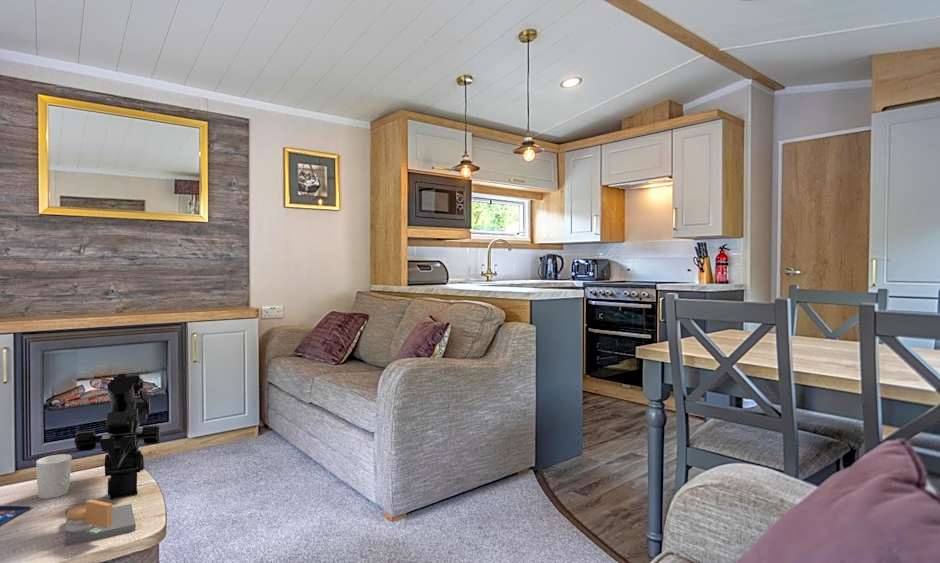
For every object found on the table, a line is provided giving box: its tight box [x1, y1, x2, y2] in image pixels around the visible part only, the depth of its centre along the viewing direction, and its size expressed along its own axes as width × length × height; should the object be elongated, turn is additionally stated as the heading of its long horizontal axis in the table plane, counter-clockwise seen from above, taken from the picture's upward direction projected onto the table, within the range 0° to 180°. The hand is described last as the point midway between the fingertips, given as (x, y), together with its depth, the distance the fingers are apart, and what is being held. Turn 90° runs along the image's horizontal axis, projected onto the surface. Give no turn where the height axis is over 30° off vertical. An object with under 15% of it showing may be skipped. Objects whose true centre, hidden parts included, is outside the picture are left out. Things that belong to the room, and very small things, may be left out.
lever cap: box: [66, 499, 113, 528], centre depth 125 cm, size 12×5×5 cm, turn 72°
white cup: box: [35, 453, 73, 500], centre depth 148 cm, size 8×8×10 cm
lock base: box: [64, 503, 137, 547], centre depth 130 cm, size 14×14×4 cm
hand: (115, 467), depth 135 cm, fingers closed
